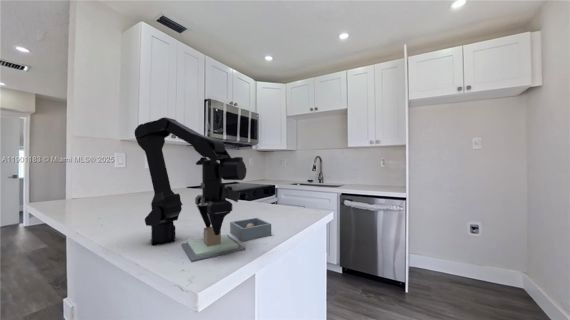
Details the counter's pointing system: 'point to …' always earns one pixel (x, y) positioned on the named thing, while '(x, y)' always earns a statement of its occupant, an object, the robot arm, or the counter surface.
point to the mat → (194, 258)
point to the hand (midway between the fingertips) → (212, 231)
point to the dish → (250, 229)
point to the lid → (211, 243)
